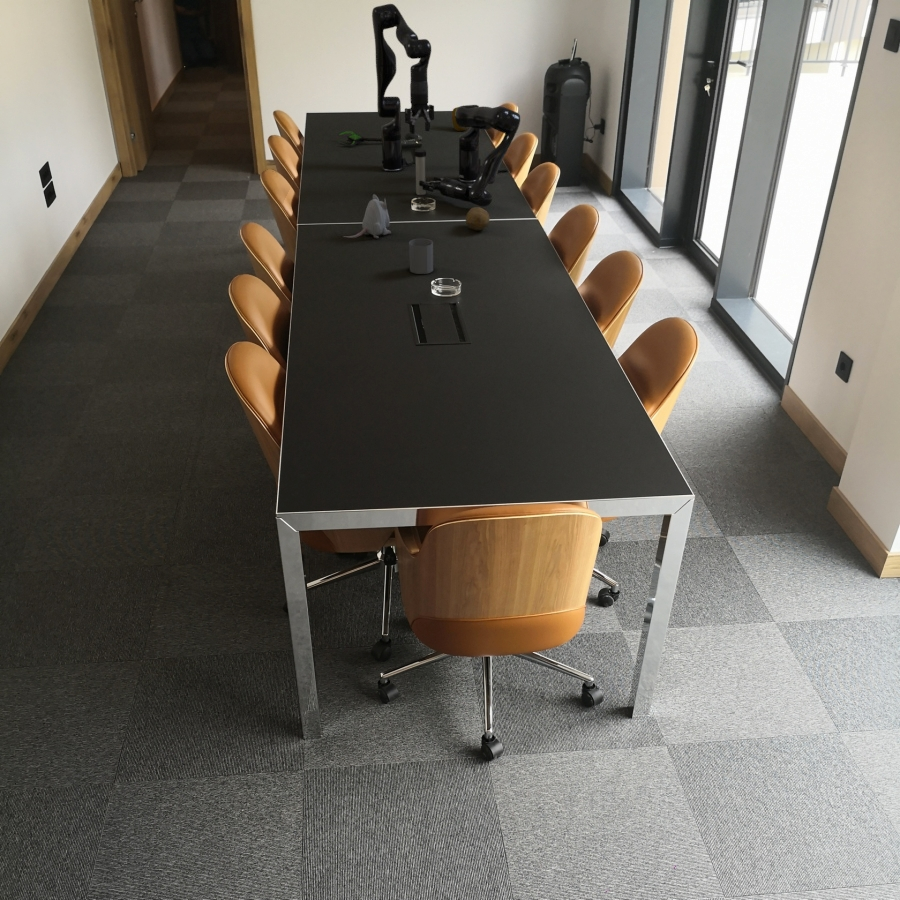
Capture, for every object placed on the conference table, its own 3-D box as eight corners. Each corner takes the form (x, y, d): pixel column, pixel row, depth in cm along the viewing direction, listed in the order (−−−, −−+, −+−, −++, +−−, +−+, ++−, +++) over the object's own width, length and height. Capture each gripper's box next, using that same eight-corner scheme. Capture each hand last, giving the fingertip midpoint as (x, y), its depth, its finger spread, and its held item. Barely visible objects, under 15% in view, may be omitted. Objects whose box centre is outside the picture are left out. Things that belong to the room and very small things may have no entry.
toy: (396, 233, 341) (395, 195, 333) (351, 248, 326) (349, 209, 318) (381, 228, 346) (379, 190, 338) (336, 243, 332) (333, 204, 324)
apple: (471, 132, 486) (471, 108, 479) (451, 132, 486) (451, 108, 479) (470, 128, 495) (471, 104, 488) (452, 128, 495) (452, 104, 488)
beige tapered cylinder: (421, 195, 385) (420, 153, 375) (414, 193, 387) (413, 152, 377) (427, 193, 388) (427, 151, 378) (420, 191, 390) (419, 150, 380)
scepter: (394, 128, 464) (338, 126, 462) (394, 143, 457) (337, 141, 455) (394, 137, 469) (338, 135, 467) (394, 152, 462) (337, 150, 460)
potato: (487, 223, 352) (488, 203, 348) (491, 234, 340) (491, 214, 336) (463, 223, 351) (463, 204, 347) (466, 235, 340) (466, 214, 335)
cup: (409, 265, 311) (408, 238, 306) (432, 265, 312) (431, 238, 307) (410, 274, 304) (409, 246, 299) (433, 273, 305) (433, 246, 299)
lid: (421, 157, 375) (421, 152, 374) (412, 155, 378) (412, 151, 377) (428, 155, 379) (428, 150, 378) (419, 153, 381) (419, 148, 380)
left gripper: (427, 88, 370) (428, 128, 379) (400, 92, 363) (401, 133, 372) (438, 91, 365) (438, 131, 374) (410, 95, 358) (411, 136, 367)
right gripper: (464, 176, 374) (438, 169, 384) (440, 183, 366) (414, 175, 375) (464, 194, 378) (438, 186, 388) (440, 200, 370) (415, 192, 379)
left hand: (419, 132), depth 373 cm, fingers open, 7 cm apart
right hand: (426, 181), depth 382 cm, fingers open, 8 cm apart
